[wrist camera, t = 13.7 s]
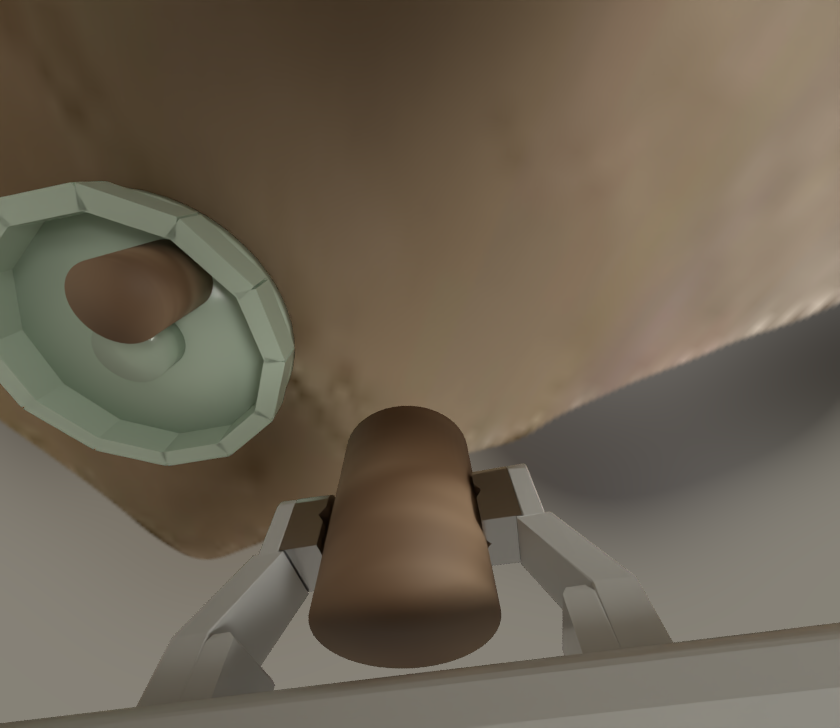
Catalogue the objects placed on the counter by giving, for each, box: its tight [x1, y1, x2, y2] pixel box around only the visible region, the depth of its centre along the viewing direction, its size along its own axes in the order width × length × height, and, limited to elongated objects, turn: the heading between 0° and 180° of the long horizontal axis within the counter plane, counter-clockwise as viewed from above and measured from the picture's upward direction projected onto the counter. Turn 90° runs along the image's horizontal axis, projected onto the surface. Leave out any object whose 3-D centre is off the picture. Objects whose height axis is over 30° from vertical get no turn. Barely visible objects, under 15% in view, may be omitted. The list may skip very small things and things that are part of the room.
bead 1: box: [64, 239, 213, 344], centre depth 18 cm, size 4×4×5 cm
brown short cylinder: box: [309, 406, 501, 668], centre depth 10 cm, size 4×4×5 cm
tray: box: [0, 181, 295, 466], centre depth 22 cm, size 17×17×3 cm
